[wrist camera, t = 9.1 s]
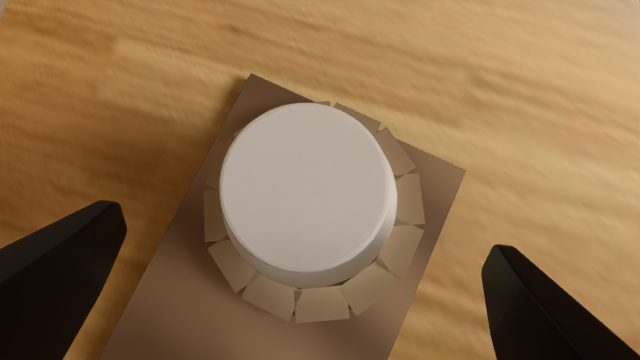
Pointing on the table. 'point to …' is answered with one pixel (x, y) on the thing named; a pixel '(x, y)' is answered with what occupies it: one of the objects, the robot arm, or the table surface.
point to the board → (267, 295)
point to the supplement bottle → (307, 195)
